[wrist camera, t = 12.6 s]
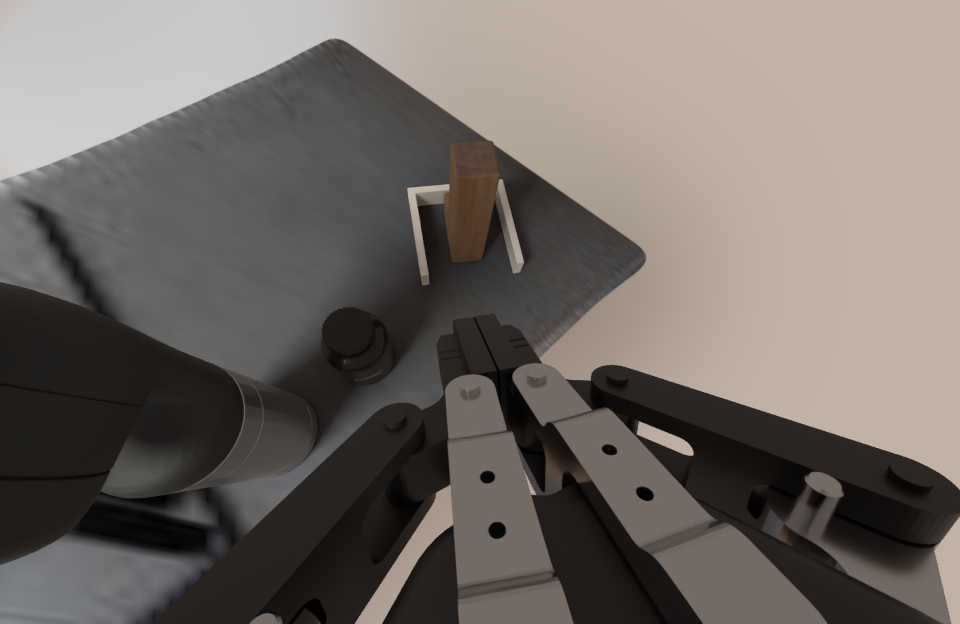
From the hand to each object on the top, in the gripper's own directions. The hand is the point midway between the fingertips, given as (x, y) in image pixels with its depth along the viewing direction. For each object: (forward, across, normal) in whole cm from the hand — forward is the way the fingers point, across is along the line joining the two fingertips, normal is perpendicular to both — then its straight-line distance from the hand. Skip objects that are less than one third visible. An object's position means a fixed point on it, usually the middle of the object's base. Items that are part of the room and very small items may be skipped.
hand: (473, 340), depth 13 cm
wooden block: (+42, -6, +6) cm, 43 cm away
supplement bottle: (+30, +9, +18) cm, 36 cm away
